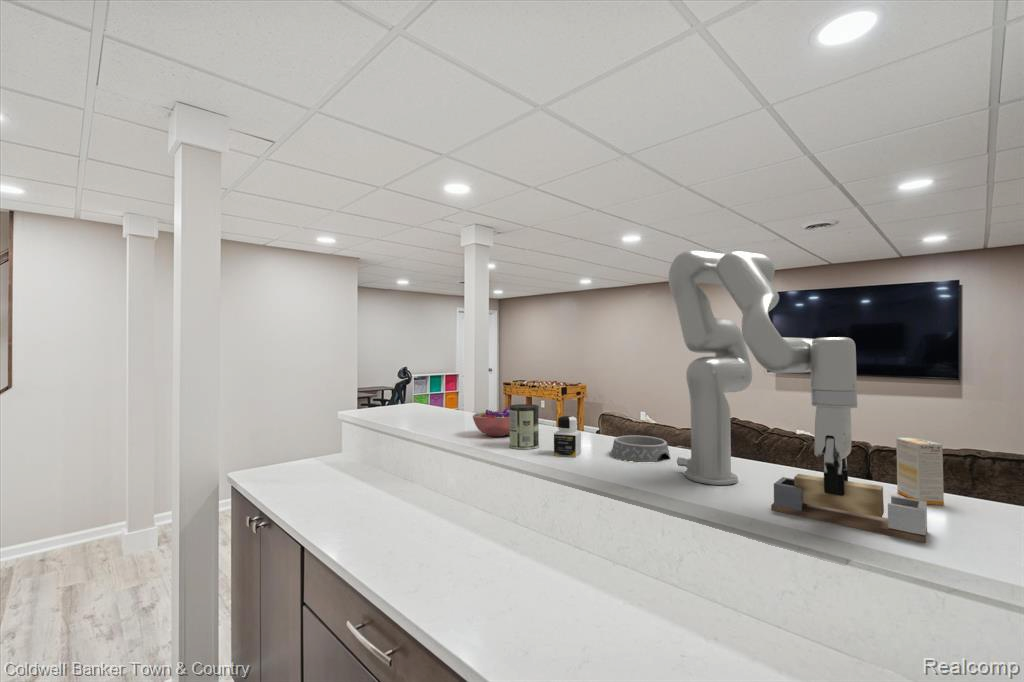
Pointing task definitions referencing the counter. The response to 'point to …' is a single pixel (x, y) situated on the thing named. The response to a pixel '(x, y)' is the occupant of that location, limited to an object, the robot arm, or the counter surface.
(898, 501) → the bracket
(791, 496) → the grey end holder
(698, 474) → the robot arm
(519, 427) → the coffee can
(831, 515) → the base board
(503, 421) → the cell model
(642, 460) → the dog bowl
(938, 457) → the supplement box
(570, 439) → the medicine bottle
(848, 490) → the slat
